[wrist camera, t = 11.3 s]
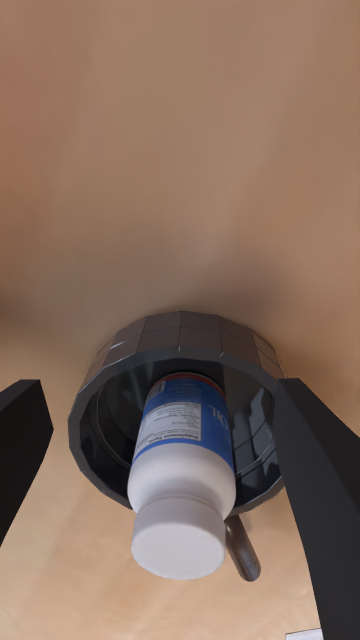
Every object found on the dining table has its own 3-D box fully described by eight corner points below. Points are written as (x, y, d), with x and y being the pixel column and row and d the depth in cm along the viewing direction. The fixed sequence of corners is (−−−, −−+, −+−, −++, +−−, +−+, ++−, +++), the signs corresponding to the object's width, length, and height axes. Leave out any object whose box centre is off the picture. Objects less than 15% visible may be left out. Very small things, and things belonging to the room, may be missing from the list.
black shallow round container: (155, 484, 28) (148, 541, 24) (50, 362, 23) (18, 408, 19) (316, 428, 24) (339, 484, 20) (232, 269, 19) (241, 301, 15)
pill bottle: (231, 427, 24) (249, 588, 15) (156, 435, 24) (132, 593, 16) (220, 362, 21) (235, 510, 13) (138, 373, 22) (98, 520, 13)
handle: (202, 485, 24) (202, 510, 22) (227, 481, 24) (229, 505, 22) (239, 562, 28) (242, 588, 26) (261, 559, 28) (265, 584, 26)
